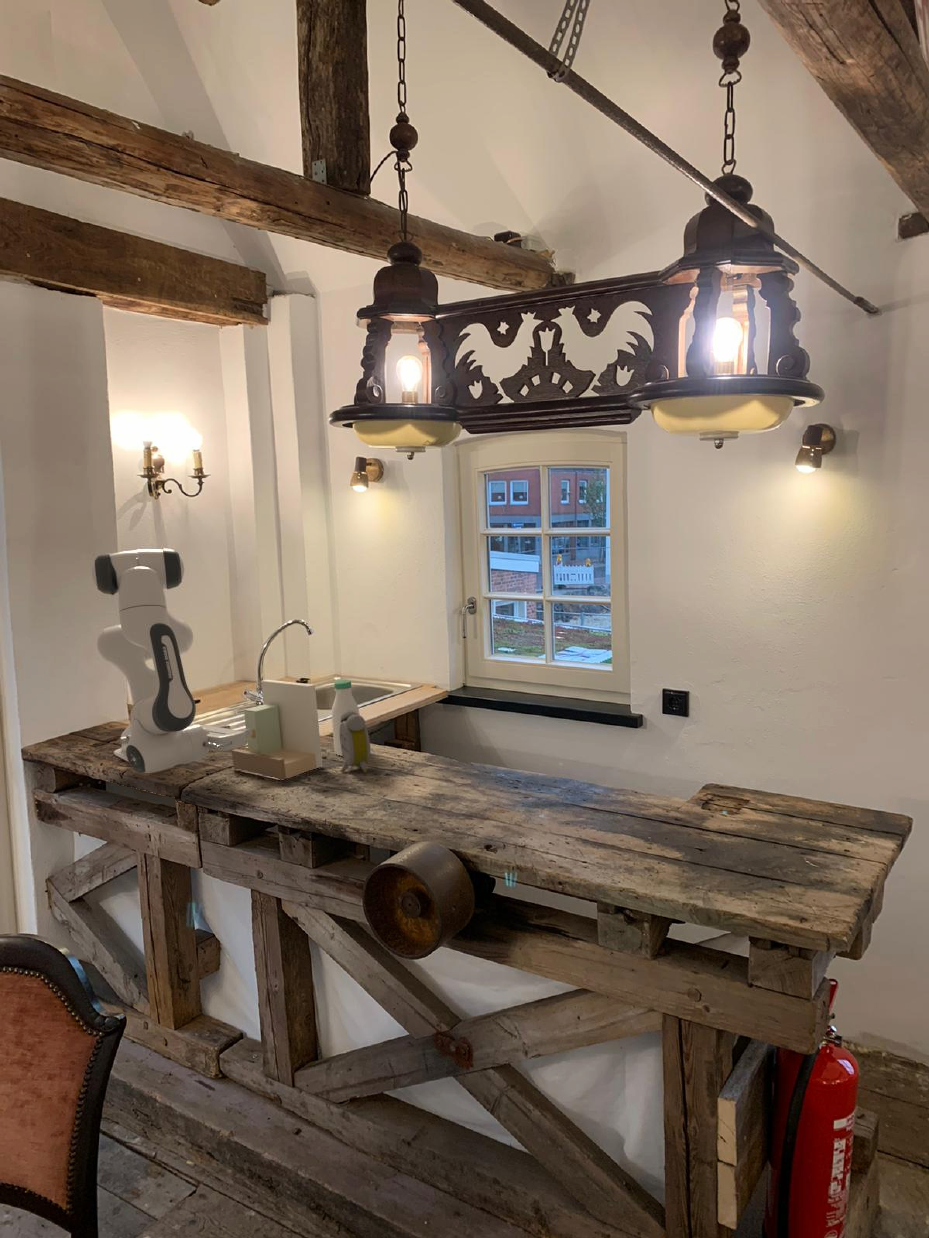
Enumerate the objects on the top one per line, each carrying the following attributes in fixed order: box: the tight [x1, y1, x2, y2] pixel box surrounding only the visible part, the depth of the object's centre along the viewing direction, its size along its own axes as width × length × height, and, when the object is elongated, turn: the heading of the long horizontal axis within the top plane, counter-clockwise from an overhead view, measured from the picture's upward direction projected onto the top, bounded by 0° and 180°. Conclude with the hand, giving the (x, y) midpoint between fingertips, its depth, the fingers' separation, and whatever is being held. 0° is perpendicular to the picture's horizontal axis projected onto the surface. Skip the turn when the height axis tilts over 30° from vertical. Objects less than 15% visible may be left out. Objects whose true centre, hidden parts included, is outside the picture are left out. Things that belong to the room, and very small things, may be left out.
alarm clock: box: [340, 710, 371, 774], centre depth 221 cm, size 12×7×15 cm, turn 22°
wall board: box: [231, 679, 323, 780], centre depth 227 cm, size 20×14×22 cm
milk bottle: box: [331, 680, 361, 757], centre depth 238 cm, size 8×8×20 cm
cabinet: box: [243, 704, 282, 755], centre depth 230 cm, size 5×8×12 cm, turn 140°
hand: (239, 729), depth 225 cm, fingers open, 8 cm apart
